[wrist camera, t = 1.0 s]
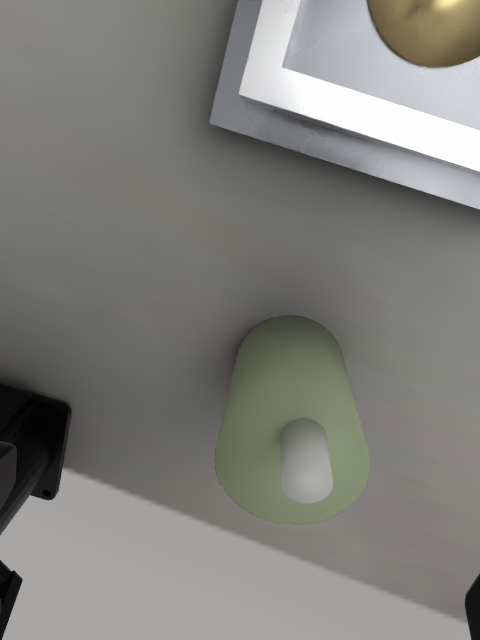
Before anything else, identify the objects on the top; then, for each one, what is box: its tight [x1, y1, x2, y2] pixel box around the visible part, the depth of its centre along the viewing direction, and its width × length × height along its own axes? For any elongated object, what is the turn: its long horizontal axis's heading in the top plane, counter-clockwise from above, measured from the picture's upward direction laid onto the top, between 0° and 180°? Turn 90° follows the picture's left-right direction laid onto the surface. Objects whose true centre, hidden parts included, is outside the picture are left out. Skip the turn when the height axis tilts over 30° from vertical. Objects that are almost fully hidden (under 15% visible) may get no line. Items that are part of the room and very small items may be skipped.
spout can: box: [214, 316, 371, 524], centre depth 16 cm, size 5×5×9 cm
